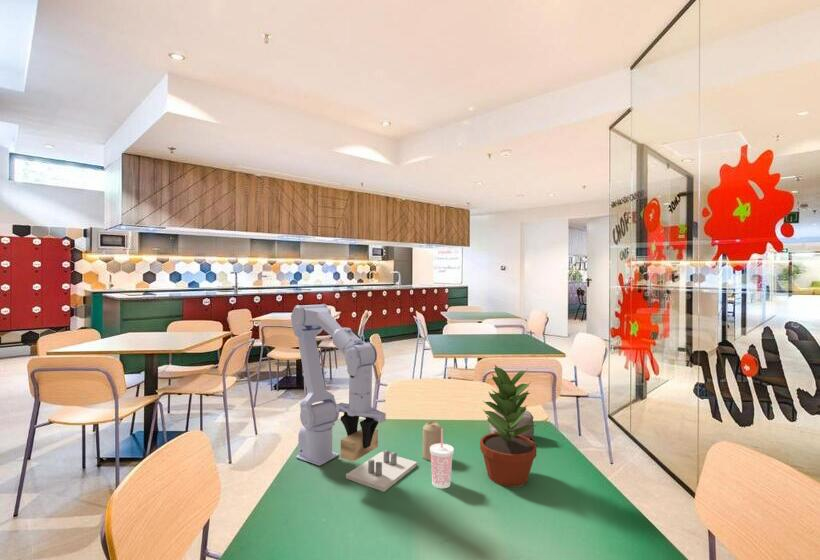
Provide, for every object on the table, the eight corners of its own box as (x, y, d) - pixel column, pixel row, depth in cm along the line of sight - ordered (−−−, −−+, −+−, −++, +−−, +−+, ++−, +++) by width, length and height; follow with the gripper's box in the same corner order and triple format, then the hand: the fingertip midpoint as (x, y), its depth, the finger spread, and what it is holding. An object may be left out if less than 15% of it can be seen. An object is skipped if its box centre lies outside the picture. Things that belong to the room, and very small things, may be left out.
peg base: (345, 478, 104) (345, 462, 104) (381, 455, 117) (381, 441, 117) (383, 491, 97) (384, 475, 97) (416, 465, 111) (417, 451, 111)
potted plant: (546, 475, 107) (548, 363, 106) (519, 498, 95) (521, 372, 95) (497, 457, 117) (499, 354, 116) (467, 476, 106) (469, 362, 105)
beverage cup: (425, 486, 100) (426, 431, 100) (433, 475, 106) (434, 422, 105) (449, 492, 98) (450, 435, 97) (456, 480, 103) (457, 426, 103)
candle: (440, 462, 113) (440, 427, 113) (421, 460, 114) (421, 425, 114) (442, 453, 119) (443, 420, 119) (424, 451, 120) (424, 418, 120)
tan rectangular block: (353, 461, 97) (353, 443, 97) (340, 457, 99) (340, 439, 99) (377, 447, 105) (377, 430, 105) (365, 443, 107) (365, 426, 107)
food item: (493, 442, 128) (494, 411, 128) (487, 432, 136) (488, 403, 136) (535, 442, 128) (536, 411, 128) (527, 432, 136) (527, 403, 136)
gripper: (328, 390, 102) (327, 443, 102) (373, 400, 95) (373, 457, 95) (346, 384, 108) (345, 434, 108) (390, 393, 101) (390, 447, 101)
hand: (359, 444), depth 102 cm, fingers closed on tan rectangular block, 4 cm apart
